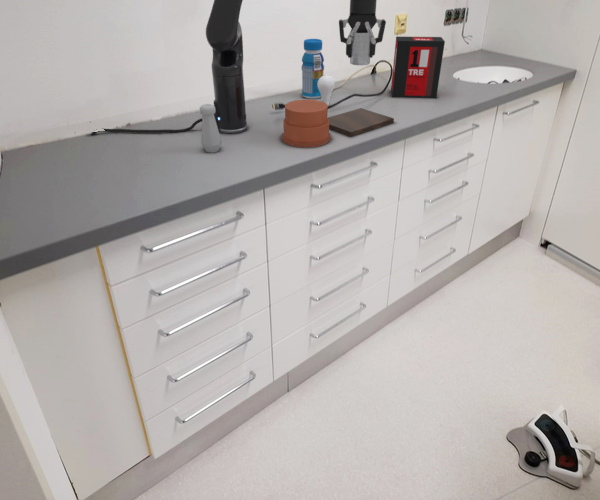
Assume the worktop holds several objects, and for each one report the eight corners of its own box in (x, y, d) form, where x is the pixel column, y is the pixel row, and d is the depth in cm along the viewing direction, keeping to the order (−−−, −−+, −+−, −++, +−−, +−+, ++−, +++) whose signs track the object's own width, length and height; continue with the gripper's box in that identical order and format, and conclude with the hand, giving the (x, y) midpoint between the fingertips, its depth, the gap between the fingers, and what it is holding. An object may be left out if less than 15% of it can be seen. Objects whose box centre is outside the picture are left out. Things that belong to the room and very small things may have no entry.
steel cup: (350, 65, 143) (351, 33, 138) (349, 61, 148) (351, 29, 143) (370, 65, 143) (372, 33, 138) (368, 61, 148) (371, 29, 143)
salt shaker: (213, 144, 141) (208, 100, 134) (226, 149, 138) (222, 104, 131) (198, 150, 137) (192, 105, 130) (211, 155, 134) (206, 109, 127)
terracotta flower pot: (280, 147, 139) (279, 113, 134) (283, 130, 152) (283, 98, 146) (330, 147, 139) (331, 113, 133) (330, 130, 151) (331, 98, 145)
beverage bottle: (299, 98, 181) (298, 41, 170) (304, 92, 188) (304, 37, 177) (321, 99, 179) (322, 42, 168) (325, 93, 186) (326, 38, 175)
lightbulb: (320, 110, 168) (320, 78, 162) (315, 105, 173) (315, 74, 167) (336, 108, 170) (337, 76, 164) (330, 103, 175) (331, 72, 168)
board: (350, 136, 146) (351, 132, 145) (318, 124, 156) (318, 120, 155) (393, 122, 157) (394, 118, 156) (360, 112, 166) (360, 107, 165)
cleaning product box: (392, 97, 181) (397, 40, 170) (390, 90, 189) (396, 36, 178) (436, 98, 180) (444, 41, 169) (433, 91, 187) (441, 37, 176)
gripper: (387, -7, 138) (382, 54, 147) (338, -7, 139) (336, 54, 148) (390, -4, 132) (385, 59, 141) (338, -4, 132) (336, 59, 142)
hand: (360, 56), depth 145 cm, fingers closed on steel cup, 6 cm apart
